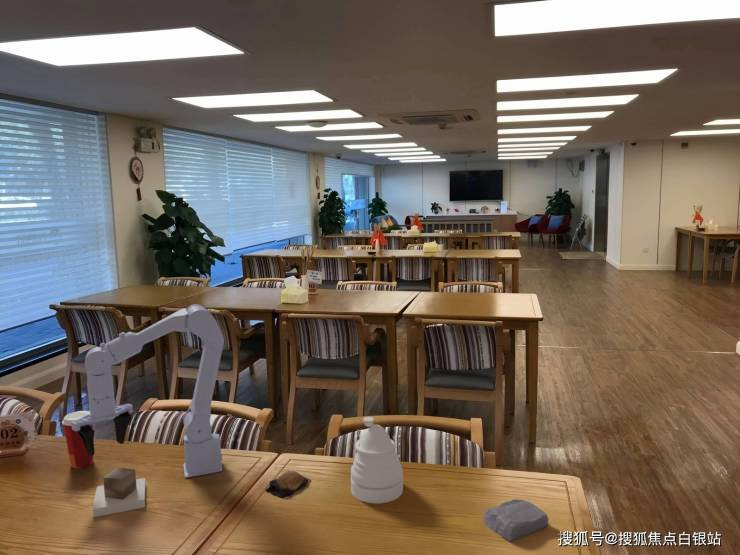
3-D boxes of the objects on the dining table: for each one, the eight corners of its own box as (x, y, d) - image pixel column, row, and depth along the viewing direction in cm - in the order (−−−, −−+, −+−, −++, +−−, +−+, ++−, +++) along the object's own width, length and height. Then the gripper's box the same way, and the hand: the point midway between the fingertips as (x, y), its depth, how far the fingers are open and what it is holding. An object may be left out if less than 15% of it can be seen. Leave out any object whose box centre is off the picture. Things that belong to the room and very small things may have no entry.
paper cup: (103, 457, 157) (99, 410, 155) (87, 470, 149) (82, 421, 147) (77, 456, 158) (72, 409, 156) (59, 469, 150) (54, 420, 148)
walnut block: (136, 488, 136) (135, 469, 135) (123, 499, 131) (121, 479, 130) (118, 486, 137) (117, 467, 136) (104, 497, 132) (103, 477, 131)
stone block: (479, 529, 123) (511, 545, 115) (477, 507, 124) (509, 521, 115) (519, 516, 129) (552, 529, 120) (517, 495, 129) (550, 507, 121)
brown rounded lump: (289, 474, 147) (288, 461, 146) (314, 483, 142) (313, 469, 142) (260, 493, 138) (260, 479, 137) (286, 502, 133) (286, 487, 133)
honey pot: (342, 497, 134) (340, 426, 132) (363, 473, 146) (361, 407, 143) (392, 507, 129) (391, 434, 127) (409, 481, 141) (409, 413, 139)
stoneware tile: (145, 485, 141) (145, 477, 141) (144, 507, 131) (144, 499, 131) (97, 494, 137) (96, 486, 137) (93, 517, 127) (92, 509, 127)
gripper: (79, 408, 129) (85, 463, 131) (137, 390, 141) (141, 441, 142) (65, 402, 133) (70, 456, 135) (122, 385, 145) (126, 435, 147)
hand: (106, 448), depth 139 cm, fingers open, 7 cm apart
